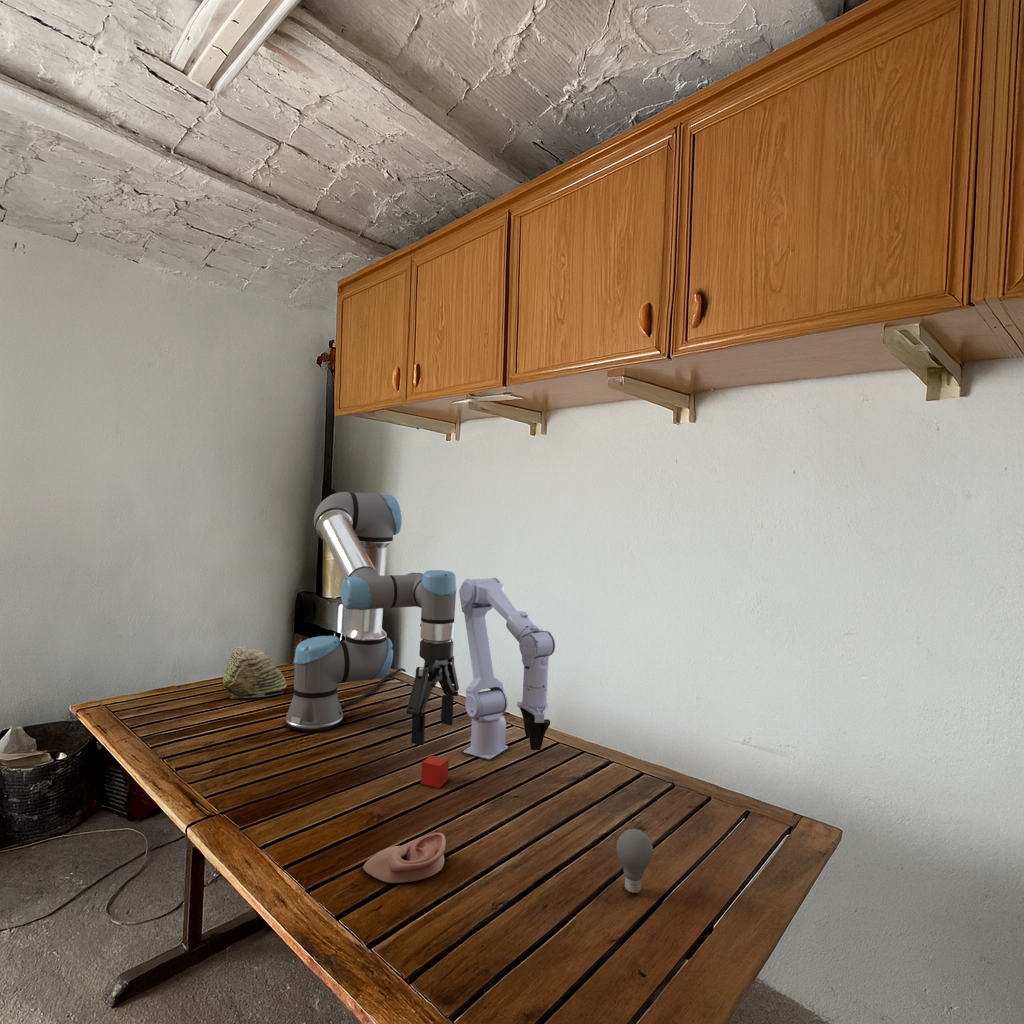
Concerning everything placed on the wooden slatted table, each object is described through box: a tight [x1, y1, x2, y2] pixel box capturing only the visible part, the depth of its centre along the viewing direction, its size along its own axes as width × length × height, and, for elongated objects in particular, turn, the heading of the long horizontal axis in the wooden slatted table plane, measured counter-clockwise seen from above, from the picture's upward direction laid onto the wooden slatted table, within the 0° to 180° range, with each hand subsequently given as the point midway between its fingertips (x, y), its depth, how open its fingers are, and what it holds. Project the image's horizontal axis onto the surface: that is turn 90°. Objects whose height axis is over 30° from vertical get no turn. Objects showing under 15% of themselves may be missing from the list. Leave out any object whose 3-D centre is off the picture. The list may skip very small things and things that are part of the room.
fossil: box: [222, 646, 288, 699], centre depth 198 cm, size 9×18×15 cm, turn 132°
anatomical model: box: [362, 832, 447, 884], centre depth 110 cm, size 13×4×12 cm
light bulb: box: [615, 828, 654, 894], centre depth 106 cm, size 6×6×10 cm
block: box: [420, 754, 450, 789], centre depth 143 cm, size 4×5×5 cm
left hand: (432, 733), depth 143 cm, fingers open, 13 cm apart
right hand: (532, 742), depth 146 cm, fingers open, 7 cm apart
